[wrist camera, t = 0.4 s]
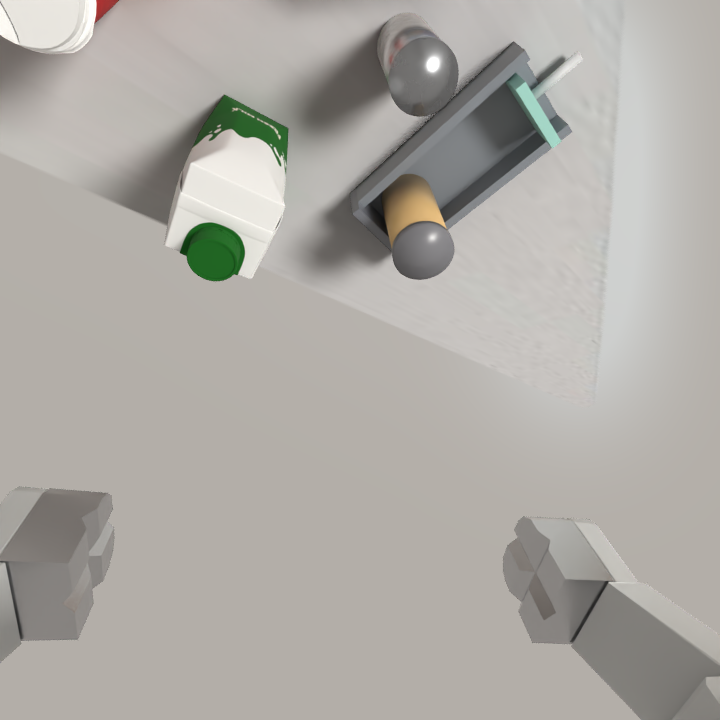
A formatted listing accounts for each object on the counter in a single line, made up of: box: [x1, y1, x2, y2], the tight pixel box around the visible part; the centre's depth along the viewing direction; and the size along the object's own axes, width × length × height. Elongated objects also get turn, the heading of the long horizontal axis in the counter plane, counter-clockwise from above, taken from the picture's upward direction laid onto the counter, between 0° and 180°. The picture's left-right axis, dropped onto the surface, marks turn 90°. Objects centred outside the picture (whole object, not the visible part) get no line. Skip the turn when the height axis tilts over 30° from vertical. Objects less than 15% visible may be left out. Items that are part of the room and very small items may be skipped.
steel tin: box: [377, 13, 458, 116], centre depth 42 cm, size 6×6×11 cm
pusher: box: [506, 51, 583, 148], centre depth 47 cm, size 6×7×5 cm
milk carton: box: [165, 95, 288, 281], centre depth 44 cm, size 9×9×20 cm
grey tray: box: [350, 42, 572, 252], centre depth 52 cm, size 22×10×5 cm, turn 133°
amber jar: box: [382, 174, 454, 280], centre depth 52 cm, size 6×6×12 cm
